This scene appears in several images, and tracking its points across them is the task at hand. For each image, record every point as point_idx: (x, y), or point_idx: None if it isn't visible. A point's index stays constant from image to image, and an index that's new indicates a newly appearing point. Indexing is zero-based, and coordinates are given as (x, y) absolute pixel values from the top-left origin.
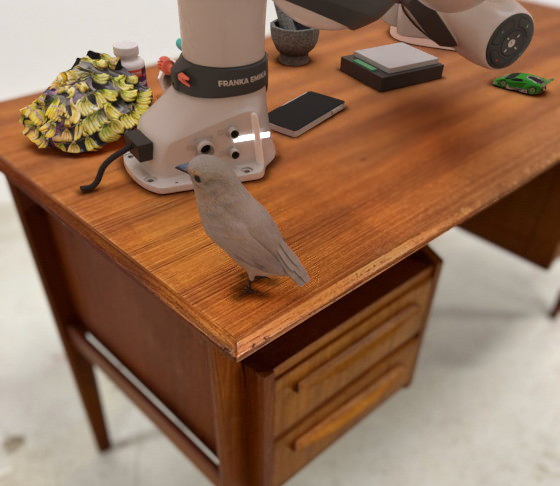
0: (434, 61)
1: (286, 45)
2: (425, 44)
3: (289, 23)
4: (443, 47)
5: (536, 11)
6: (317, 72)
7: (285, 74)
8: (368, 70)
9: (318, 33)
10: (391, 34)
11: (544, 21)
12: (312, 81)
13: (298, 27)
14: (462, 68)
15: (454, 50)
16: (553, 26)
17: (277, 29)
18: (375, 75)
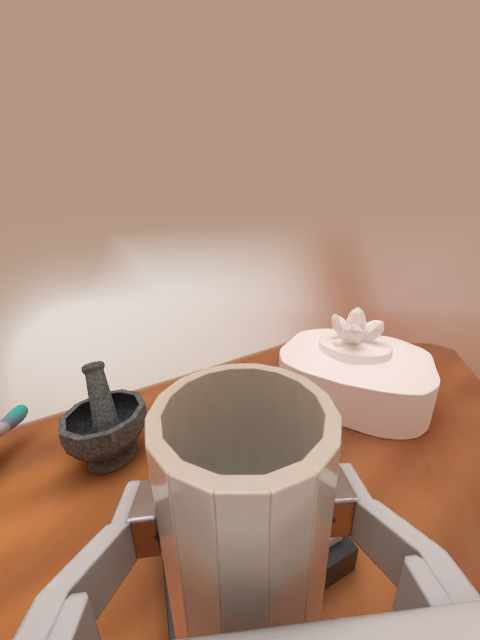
0: (333, 540)
1: (69, 454)
2: None
3: (99, 408)
4: (346, 426)
5: (436, 351)
6: (112, 508)
7: (49, 514)
8: (165, 580)
9: (133, 429)
10: None
11: (457, 367)
12: (64, 563)
13: (129, 404)
14: (392, 509)
15: (364, 433)
16: (475, 377)
17: (59, 427)
18: (168, 623)
